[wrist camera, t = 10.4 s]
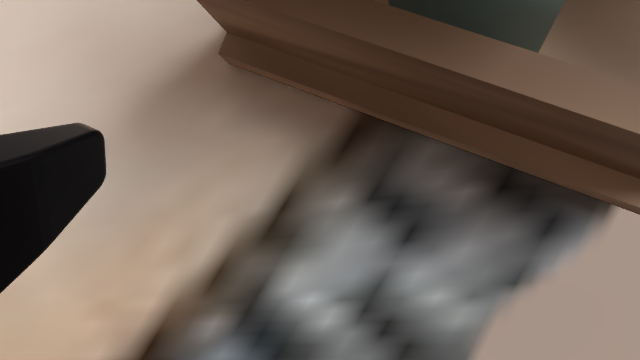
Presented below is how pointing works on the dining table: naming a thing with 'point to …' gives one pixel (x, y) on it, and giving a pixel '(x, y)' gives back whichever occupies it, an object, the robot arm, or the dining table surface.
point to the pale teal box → (493, 17)
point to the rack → (466, 81)
